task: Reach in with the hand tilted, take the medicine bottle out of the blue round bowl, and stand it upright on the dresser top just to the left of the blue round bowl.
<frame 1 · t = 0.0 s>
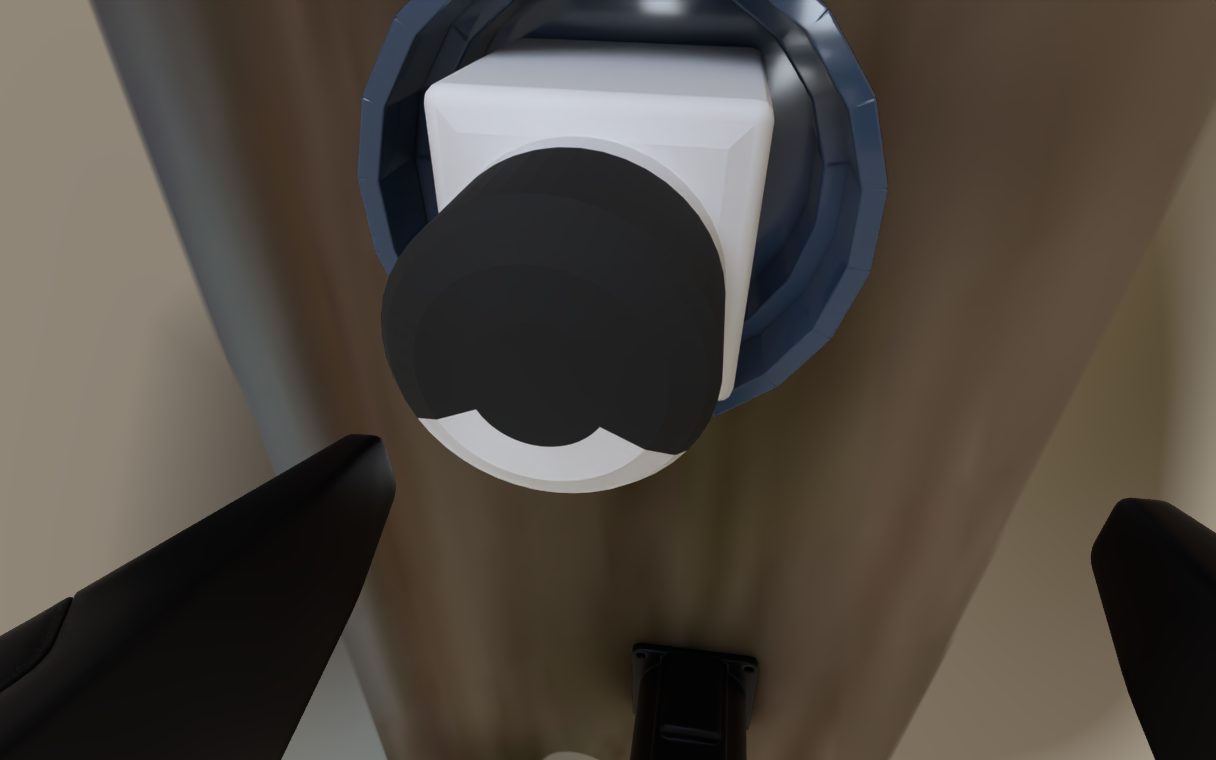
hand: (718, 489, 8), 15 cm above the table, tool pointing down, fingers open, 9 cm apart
medicine bottle: (632, 166, 21), resting on blue round bowl
blue round bowl: (633, 165, 21), on the table
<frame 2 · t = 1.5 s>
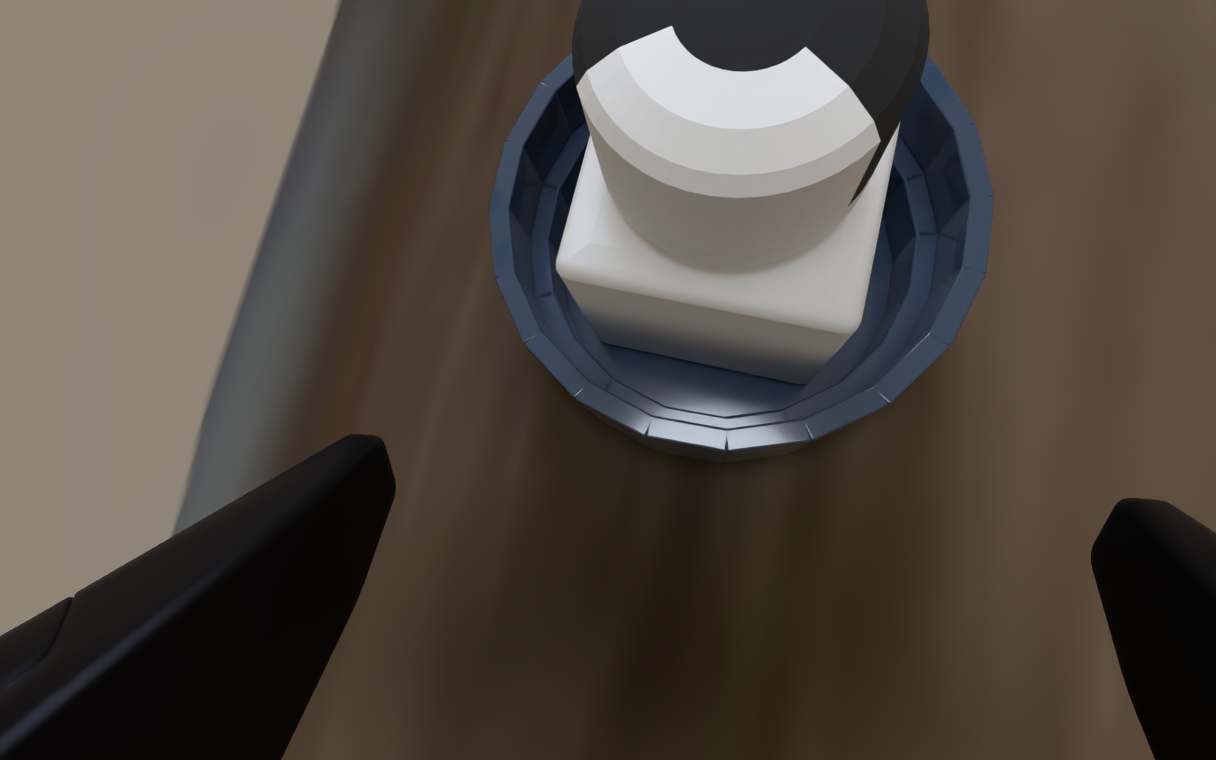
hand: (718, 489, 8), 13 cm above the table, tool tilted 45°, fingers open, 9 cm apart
medicine bottle: (722, 266, 23), resting on blue round bowl
blue round bowl: (722, 267, 23), on the table
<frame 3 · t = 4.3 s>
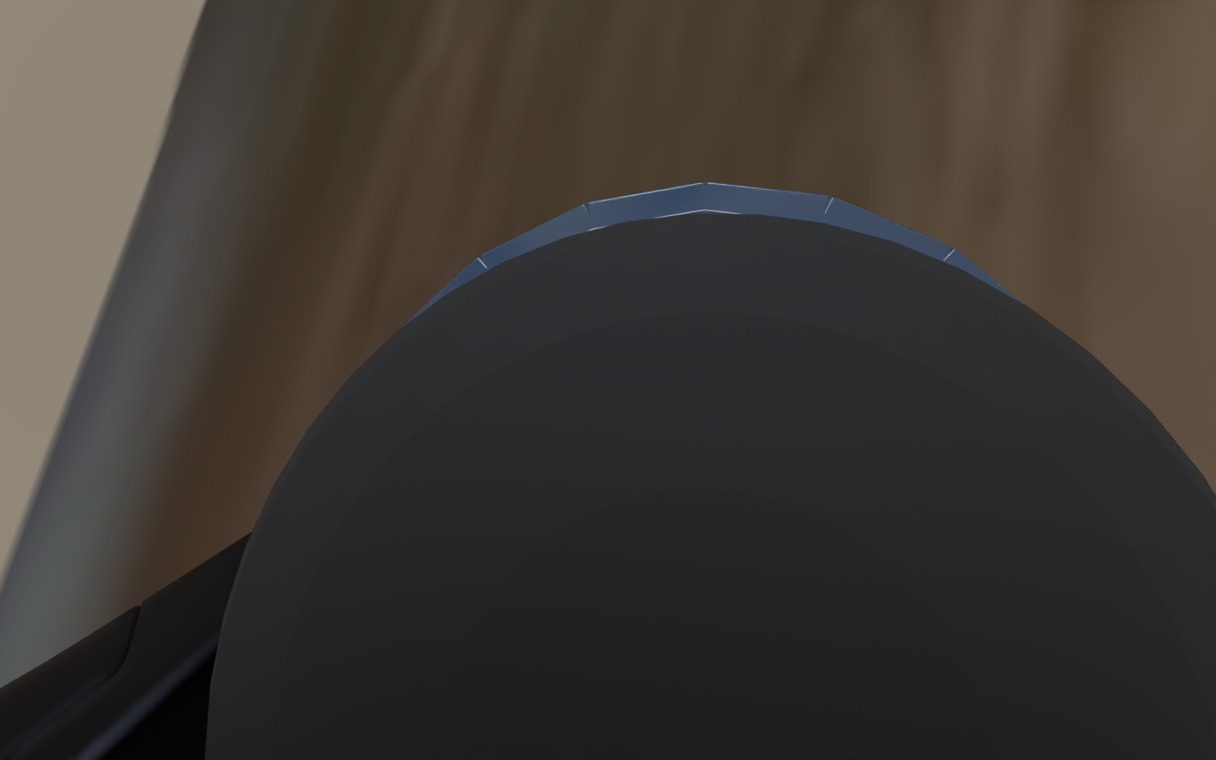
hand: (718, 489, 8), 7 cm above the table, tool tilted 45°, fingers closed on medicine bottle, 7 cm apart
medicine bottle: (700, 561, 15), resting on blue round bowl, touching gripper
blue round bowl: (700, 561, 15), on the table
when the fingers open (7 cm above the table, at t = 11.3 s): medicine bottle stays where it is, on the table.
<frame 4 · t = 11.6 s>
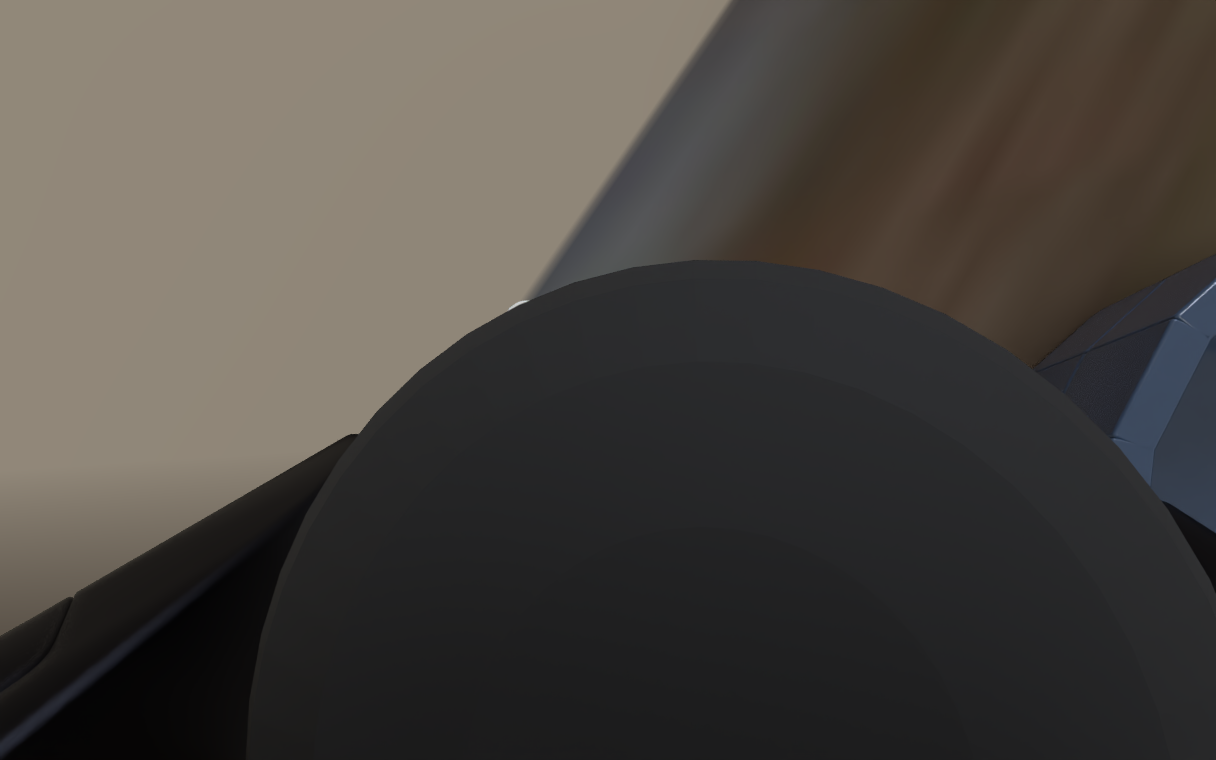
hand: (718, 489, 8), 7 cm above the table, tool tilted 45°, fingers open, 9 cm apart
medicine bottle: (702, 566, 15), on the table
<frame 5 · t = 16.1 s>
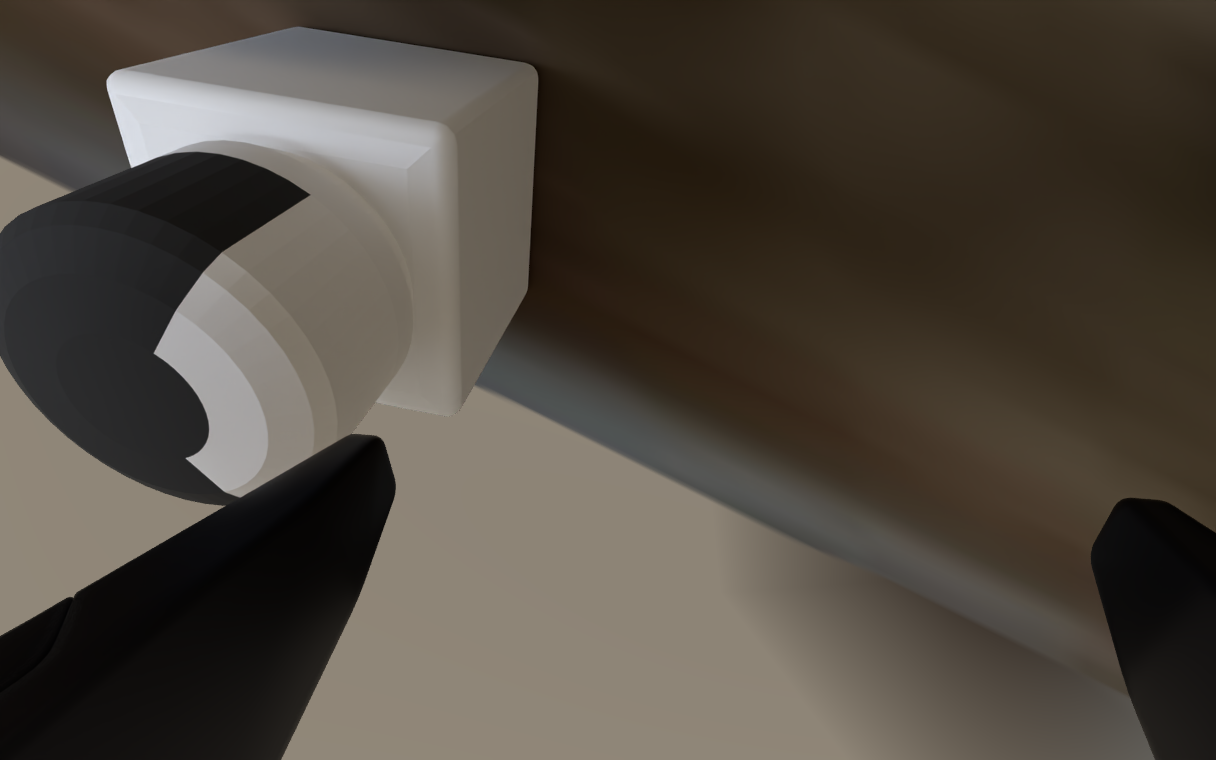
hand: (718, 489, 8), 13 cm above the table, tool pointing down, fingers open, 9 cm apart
medicine bottle: (424, 168, 21), on the table
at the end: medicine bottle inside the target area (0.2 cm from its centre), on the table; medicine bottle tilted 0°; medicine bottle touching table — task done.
